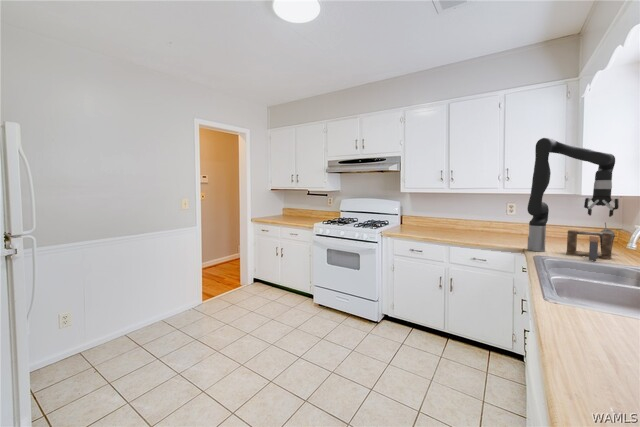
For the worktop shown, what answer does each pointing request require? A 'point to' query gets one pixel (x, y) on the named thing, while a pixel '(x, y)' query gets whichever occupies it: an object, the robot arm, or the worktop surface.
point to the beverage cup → (607, 232)
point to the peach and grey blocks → (593, 247)
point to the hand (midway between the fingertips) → (600, 216)
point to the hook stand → (572, 251)
